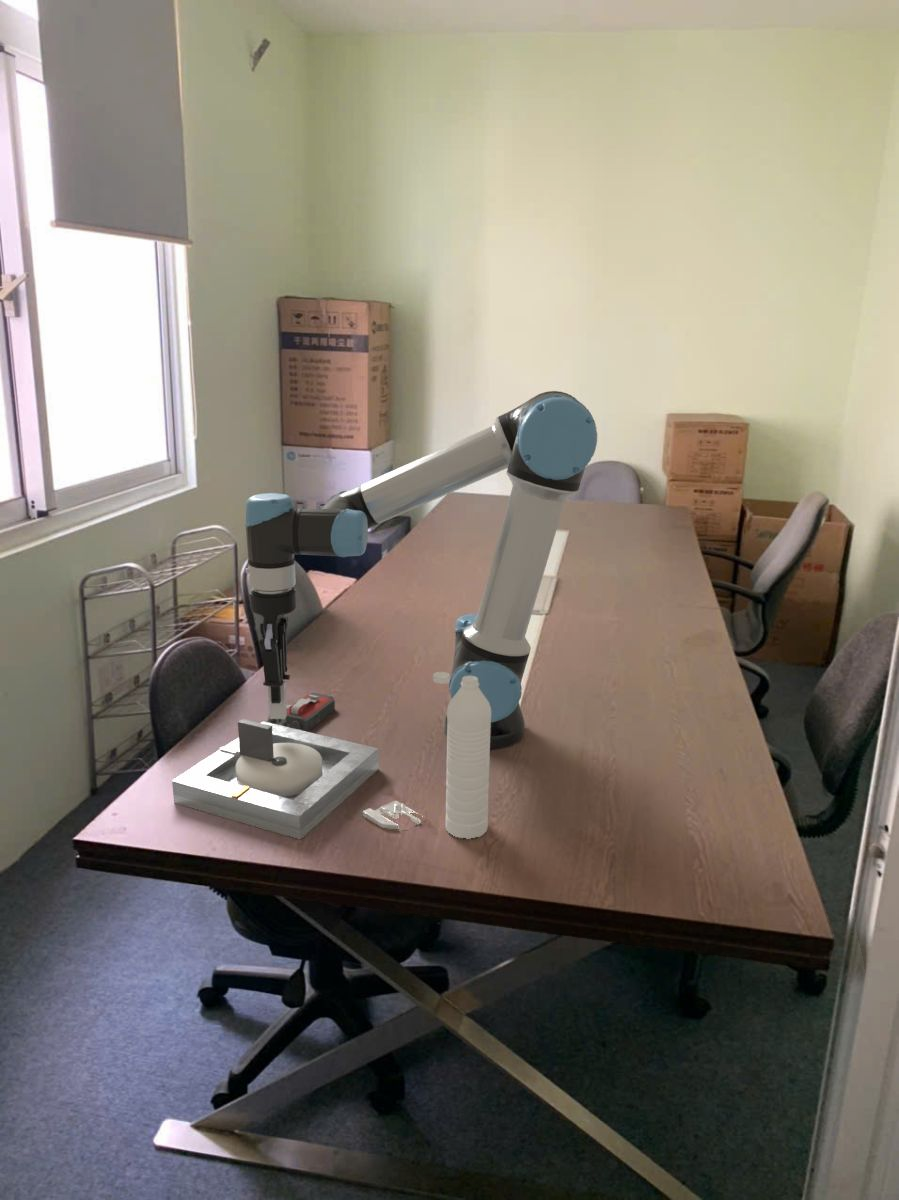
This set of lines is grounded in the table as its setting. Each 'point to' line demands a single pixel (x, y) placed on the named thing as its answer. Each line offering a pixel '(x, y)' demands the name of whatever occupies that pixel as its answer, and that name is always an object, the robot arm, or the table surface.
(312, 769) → the dial
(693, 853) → the table surface
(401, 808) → the model kit parts
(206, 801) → the silver rectangular frame
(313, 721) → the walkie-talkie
